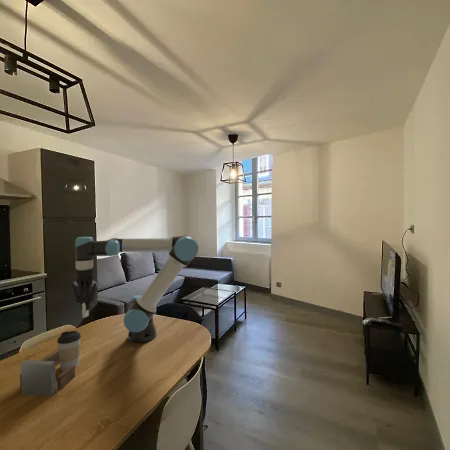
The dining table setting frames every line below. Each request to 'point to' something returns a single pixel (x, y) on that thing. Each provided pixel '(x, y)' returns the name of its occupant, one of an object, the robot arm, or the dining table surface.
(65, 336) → the coffee cup
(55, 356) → the walnut shelf wall
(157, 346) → the dining table surface
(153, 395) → the dining table surface
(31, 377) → the grey bookend
